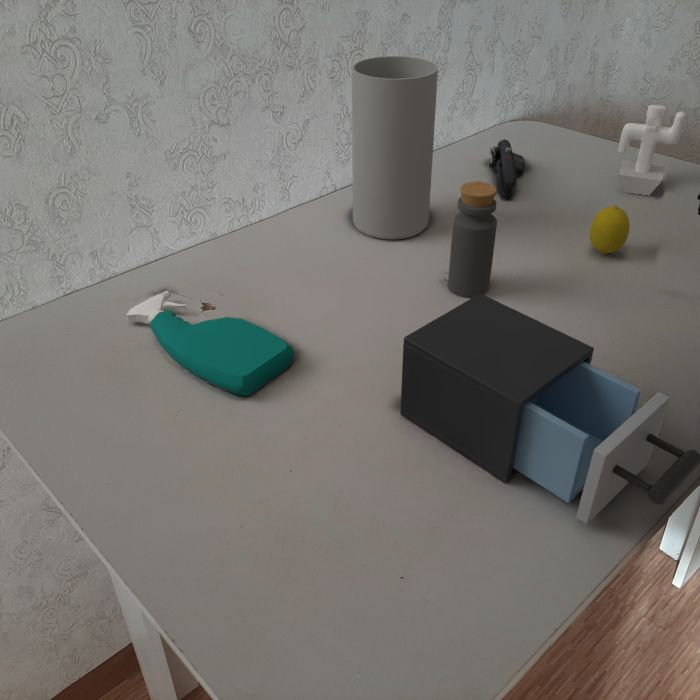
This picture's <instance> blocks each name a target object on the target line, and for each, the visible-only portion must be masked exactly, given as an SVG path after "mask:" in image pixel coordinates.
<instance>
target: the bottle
mask: <svg viewBox="0 0 700 700" xmlns="http://www.w3.org/2000/svg"><path fill="white" fill-rule="evenodd" d="M459 189H460V197H459V198H458V200H457V205H456V206H457V209H458V211H459V212H457V214H455V215H454V217H453V220H452V221H453V222H452V231H451V241H450V242H451V243H450V256H449V266H448V279H447V287H448V290H449V291H450V292H451V293H453V294H455V295H457V296H459V297H464V298H473V297H475V296H476V295H478V294H483V295H485V294H487V293H488V291H489V288H490V282H491V276H492V268H493V260H494V252H495V244H496V235H497V226H498V220H497V218H496V216H495V215H494V213H495V212H496V210H497V204H498V203H497V200H496V199H495V197H496V195H497V191H498V189H497V188H496V186H494V184H491V183H489V182H484V181H469V182H466V183H463V184H462V185H461V186H460V188H459Z"/></svg>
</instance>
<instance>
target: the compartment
mask: <svg viewBox="0 0 700 700" xmlns="http://www.w3.org/2000/svg"><path fill="white" fill-rule="evenodd" d="M641 394H642V389H640V388H639V387H637V386H634V385H632V384H630V383H629V382H626V381H624V380H622V379H621V378H618V377H617V376H614V375H613V374H610V373H608V372H606V371H604V370H602V369H600V368H598V367H596V366H594V365H592V364H591V363H590V364H588V363H586V362H584V361H583V362H581V363H580V364H579V365H577V366H576V367H575V368H573V369H572V370H571V371H569V372H568V373H567V374H566V375H564V376H563V377H562V378H560V379H559V380H558V381H556V382H555V383H554V384H552V385H551V386H550V387H548V388H547V389H546V390H544V391H543V392H542V393H540V394H539V395H538V396H536V397H535V398H534V399H533V400H531V401H530V402H529V403H527V404H526V405H525V406H523V413H522V419H521V424H520V430H519V436H518V441H517V447H516V452H515V458H514V464H513V468H514V469H516V470H517V471H519V472H520V473H519V474H522V475H523V476H524V477H526V478H528V479H530V480H531V481H533V482H534V483H536V484H537V485H539V486H540V487H542V488H544V489H545V490H547V491H549V492H550V493H552V494H553V495H555V496H556V497H558V498H560V499H561V500H562V501H563V502H566V503H567V504H569V503H570V502H572V500H574V499H575V498H576V497H577V496H578V495H579V494H580V493H581V492H582V493H581V497H580V501H579V504H578V509H577V512H576V515H575V516H576V517H575V518H577V519H578V520H579V521H581V522H583V523H584V524H586V525H588V524H589V523H590V522H591V521H592V520H593V519H594V518H595V517H596V516H597V515H598V514H599V513H600V512H601V511H602V510H603V509H604V508H605V507H606V506H607V505H609V503H610V502H611V501H612V500H613V499H614V498H615V497H616V496H617V495H618V494H619V493H620V492H621V491H622V490H623V489H624V488H626V486H627V485H628V484H632V485H633V486H635V487H637V488H639V489H640V490H642V491H644V492H645V493H646V496H647V498H648V500H649V501H650V502H651V503H653V504H655V505H658V506H659V505H664V503H665V502H666V501H667V500H668V499H669V498H670V497H671V496H672V495H673V494H674V492H676V490H677V489H678V488H679V487H680V486H681V485H682V484H683V483H684V482H685V481H686V480H687V479H688V478H689V476H690V475H691V474H692V473H693V472H694V471H695V470H696V469H697V468H698V467H699V466H700V453H699V452H698V451H696V450H694V449H687V450H685V451H684V450H683V449H681V448H680V447H678V446H675V445H674V444H671V443H670V442H667V441H666V440H663V439H662V438H660V437H658V435H659V434H660V429H661V427H662V423H663V420H664V417H665V414H666V412H667V409H668V405H669V402H670V400H671V397H670V396H668V395H667V394H664V393H662V392H660V391H658V392H657V393H656V394H654V395H653V396H652V397H651V398H649V400H648V401H646V402H645V404H643V405H642V406H641V407H640V408H639V409H638V410H636V409H637V406H638V403H639V400H640V398H641V397H640V396H641ZM654 447H656V448H659V449H661V450H663V451H665V452H666V453H668V454H670V455H672V456H674V457H676V458H677V459H676V460H675V461H674V462H673V463H672V465H671V466H669V468H668V469H666V471H665V472H663V474H661V476H660V477H659V478H658V479H657V480H656V481H655V482H654V483H653V484H651V483H649V482H647V480H644V479H643V478H641V477H640V476H637V475H639V473H640V472H642V470H644V468H646V466H648V464H649V463H650V460H651V459H650V458H651V456H652V454H653V450H654Z"/></svg>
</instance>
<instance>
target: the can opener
mask: <svg viewBox="0 0 700 700" xmlns="http://www.w3.org/2000/svg"><path fill="white" fill-rule="evenodd" d="M488 153H489V154H490V156H491V158H490V162H489V164H488V167H489V168H490V169H492V170H493V171H496V180H497V188H498V189H497V190H498V192H499V195H500V197H501V198H502V199H503V200H511V199H512V198H513V188H515V187H516V186H517V176H523V174H524V172H525V168H526V162H525V158H524V157H523V155H521V154H518V153H516V152H514V151H513V149H512V145H511V143H510V141H509V140H508V139H501V140H499V141H498V142H497V146H490V149H489V151H488Z"/></svg>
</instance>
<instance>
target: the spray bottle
mask: <svg viewBox="0 0 700 700" xmlns="http://www.w3.org/2000/svg"><path fill="white" fill-rule="evenodd" d="M171 297H172V296H171V293H170V291H169V290H165V291H163V292H161V293H157V294H155V295H154V296H151V297H150V298H147V299H146V300H144V301H143V302H140V303H138V304H137V305H135V306H132V307H131V308H130V309H129V310H128V312H127V313H126V319H127V323H128V324H130V323H143V324H146V325H149V326H150V330H151V331H152V332H153V335H154V336H155V337H156V339H157V341H158V342H159V344H160V346H161V347H162V348H163V349H164V351H165V352H166V353H167V355H168V356H169V357H170V358H172V360H174V361H175V363H177V364H178V365H180V366H181V367H183V368H184V369H185V370H187V371H188V372H190V373H192V374H193V375H194V376H196V377H198V378H200V379H202V380H204V381H206V382H208V383H209V384H212V385H214V386H215V387H218V388H220V389H222V390H224V391H227V392H229V393H232V394H234V395H237V396H242V397H248V396H250V395H251V394H253V393H254V392H256V391H257V390H259V389H260V388H261V387H263V386H264V385H266V384H267V383H269V382H270V381H271V380H273V379H274V378H276V377H277V376H278V375H280V374H281V373H283V372H284V371H287V369H288V368H289V366H290V365H291V364H292V362H293V361H294V354H295V352H294V348H293V347H292V346H291V345H290V344H289V343H287V342H286V341H285V340H283V339H282V338H281V337H279V336H277V335H275V334H274V333H272V332H270V331H268V330H267V329H266V328H263V327H261V326H260V325H257V324H255V323H252V322H250V321H247V320H245V319H243V318H238V317H230V316H228V317H227V316H225V317H219V318H213V319H206V320H203V321H200V322H197V323H189V321H187V320H183V318H181V317H180V316H177V315H176V313H175V312H174V311H173V310H171V309H187V304H184V303H177V302H172V301H167V300H168V299H170V298H171Z"/></svg>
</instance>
